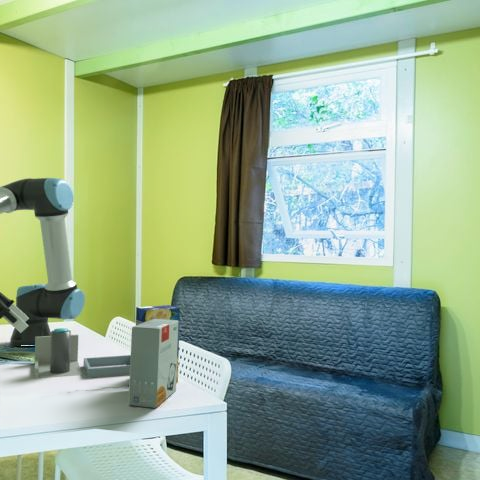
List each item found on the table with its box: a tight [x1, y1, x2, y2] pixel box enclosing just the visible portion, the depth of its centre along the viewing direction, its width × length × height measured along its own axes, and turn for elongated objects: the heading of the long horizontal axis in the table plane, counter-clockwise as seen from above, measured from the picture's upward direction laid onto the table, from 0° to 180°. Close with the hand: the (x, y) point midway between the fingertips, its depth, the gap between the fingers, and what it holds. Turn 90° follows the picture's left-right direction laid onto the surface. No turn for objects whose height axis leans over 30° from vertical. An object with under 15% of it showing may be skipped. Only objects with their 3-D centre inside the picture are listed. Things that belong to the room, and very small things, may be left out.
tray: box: [83, 354, 131, 379], centre depth 148 cm, size 14×16×4 cm
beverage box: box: [135, 304, 181, 383], centre depth 142 cm, size 7×11×22 cm, turn 127°
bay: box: [34, 334, 83, 380], centre depth 148 cm, size 18×13×10 cm
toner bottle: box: [50, 327, 72, 374], centre depth 145 cm, size 6×6×13 cm
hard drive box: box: [127, 319, 180, 409], centre depth 127 cm, size 16×8×20 cm, turn 168°
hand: (25, 325), depth 141 cm, fingers open, 13 cm apart
